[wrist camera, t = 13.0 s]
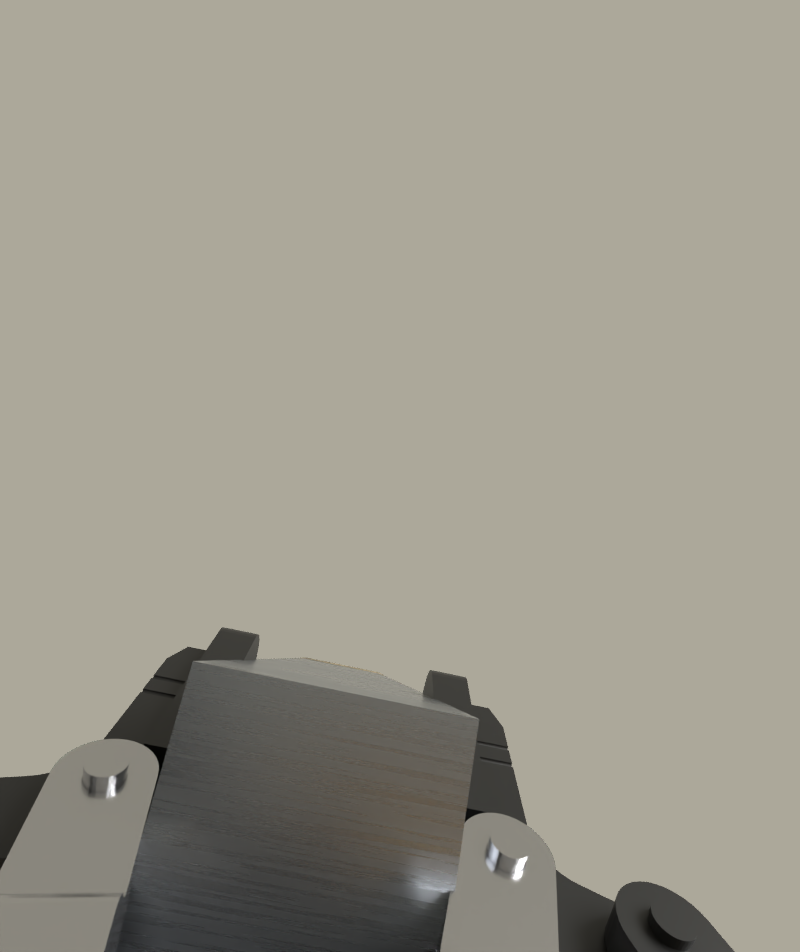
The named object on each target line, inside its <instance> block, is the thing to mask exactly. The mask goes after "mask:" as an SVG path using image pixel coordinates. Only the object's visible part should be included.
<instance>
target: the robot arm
mask: <svg viewBox="0 0 800 952" xmlns="http://www.w3.org/2000/svg"><path fill="white" fill-rule="evenodd" d="M258 646H259V635H257V634H253V633H248V632H243V631H238V630H234V629H228V628H221V629H220V631H219V632H218V634H217V635H216V637H215V638H214V640H213V641H212V643H211V644H210V646H209V647H208V649H207V650H201V649H196V648H191V647H187V648H185V649H183V650H182V651H180V652H178V653H176V654H174V655H172V656H171V657H169V658H167V659H166V660H165V662H164V663H163V664H162V665H161V667H160V668H159V669H158V670H157V672H156V673H155V674H154V677H153V678H151V679H150V681H149V682H148V683H147V685H146V686H145V687H144V689H143V692H140V694H139V695H138V696H137V697H136V699H135V700H134V701H133V702H132V704H131V705H130V706H129V708H128V709H127V710H126V711H125V713H124V714H123V715H122V717H121V718H120V719H119V721H118V722H117V723H116V724H115V726H114V727H113V728H112V729H111V731H110V732H109V733H108V735H107V736H106V737H105V738H104V740H99V741H94V742H90V743H87V744H84V745H81V746H79V747H77V748H75V749H73V750H71V751H70V752H68V753H67V754H65V755H64V756H63V757H62V758H60V759H59V761H58V762H57V763H56V764H55V765H54V767H53V768H52V770H51V771H50V773H47V774H41V775H34V776H22V777H3V778H0V952H116V951H117V946H118V942H119V937H120V933H121V929H122V925H123V921H124V917H125V913H126V909H127V905H128V901H129V898H130V894H131V890H132V886H133V881H134V876H135V870H136V865H137V860H138V854H139V849H140V844H141V839H142V835H143V831H144V828H145V824H146V821H147V817H148V814H149V810H150V807H151V804H152V800H153V797H154V793H155V790H156V786H157V783H158V779H159V776H160V773H161V769H162V766H163V762H164V759H165V755H166V752H167V748H168V745H169V742H170V738H171V735H172V731H173V728H174V724H175V721H176V717H177V714H178V711H179V707H180V704H181V700H182V697H183V693H184V690H185V686H186V683H187V680H188V676H189V673H190V669H191V666H192V662H193V661H211V660H243V661H245V660H256V657H257V652H258ZM423 694H424V695H426V696H428V697H430V698H432V699H435V700H439V701H441V702H443V703H445V704H447V705H450V706H452V707H454V708H456V709H458V710H460V711H463V712H465V713H467V714H469V715H471V716H474V717H476V718H478V719H479V724H478V731H477V738H476V745H475V753H474V760H473V767H472V774H471V781H470V788H469V795H468V802H467V809H466V816H465V823H464V831H463V838H462V845H461V852H460V859H459V866H458V873H457V880H456V887H455V891H452V890H450V894H449V898H448V902H447V906H446V910H445V915H444V919H443V923H442V927H441V931H440V935H439V940H438V944H437V949H436V952H734V951H733V950H732V948H731V947H730V946H729V945H728V944H727V943H726V941H725V940H724V939H723V938H722V937H721V935H720V934H719V933H718V932H717V931H716V929H715V928H714V927H713V926H712V925H711V924H710V922H709V921H708V920H707V919H706V918H705V917H704V916H703V915H702V914H701V913H700V912H699V911H698V910H697V909H696V908H695V907H694V906H692V904H690V903H689V902H687V901H686V900H685V899H684V898H682V897H681V896H679V895H677V894H676V893H674V892H672V891H670V890H668V889H666V888H664V887H662V886H659V885H656V884H652V883H649V882H632V883H629V884H626V885H625V886H623V887H622V888H621V889H620V891H619V892H618V894H617V897H616V900H615V902H614V901H612V900H610V899H608V898H605V897H603V896H601V895H599V894H597V893H595V892H593V891H591V890H589V889H587V888H585V887H583V886H581V885H578V884H577V883H575V882H573V881H571V880H569V879H568V878H566V877H565V876H564V875H562V874H561V873H559V872H558V871H557V870H556V867H555V861H554V858H553V855H552V853H551V851H550V849H549V848H548V846H547V845H546V843H545V842H544V841H543V839H542V838H541V837H540V836H539V835H538V834H537V833H536V832H534V830H532V829H531V828H530V827H528V826H527V823H526V819H525V816H524V811H523V807H522V803H521V799H520V795H519V790H518V786H517V782H516V778H515V774H514V770H513V768H512V767H511V764H512V762H511V759H510V754H509V751H508V750H507V748H508V746H507V742H506V738H505V733H504V729H503V727H502V725H501V724H500V723H499V721H498V720H497V719H496V717H495V716H494V715H493V714H492V712H491V711H490V710H489V709H488V708H484V707H480V706H474V705H471V701H470V695H469V689H468V683H467V679H466V678H465V677H461V676H456V675H452V674H447V673H442V672H437V671H432V670H430V671H429V673H428V676H427V679H426V682H425V686H424V690H423Z"/></svg>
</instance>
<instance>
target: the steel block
mask: <svg viewBox="0 0 800 952" xmlns="http://www.w3.org/2000/svg"><path fill="white" fill-rule="evenodd" d="M478 724H479V719H478V718H476V717H474V716H471V715H469V714H467V713H465V712H463V711H460V710H458V709H456V708H454V707H452V706H450V705H447V704H445V703H443V702H441V701H439V700H435V699H432V698H430V697H428V696H426V695H424V694H423V693H421V692H418V691H417V690H414V689H412V688H410V687H408V686H405V685H403V684H401V683H399V682H396V681H395V680H392V679H390V678H388V677H386V676H383V675H382V674H380V673H378V672H374V671H369V670H364V669H359V668H355V667H349V666H345V665H340V664H335V663H330V662H325V661H320V660H315V659H310V658H294V659H293V658H292V659H291V658H290V659H256V660H245V661H243V660H211V661H193V662H192V666H191V669H190V673H189V676H188V680H187V683H186V686H185V690H184V693H183V697H182V700H181V704H180V707H179V711H178V714H177V717H176V721H175V724H174V728H173V731H172V735H171V738H170V742H169V745H168V748H167V752H166V755H165V759H164V762H163V766H162V769H161V773H160V776H159V779H158V783H157V786H156V790H155V793H154V797H153V800H152V804H151V807H150V810H149V814H148V817H147V821H146V824H145V828H144V831H143V835H142V839H141V844H140V849H139V854H138V860H137V865H136V870H135V876H134V881H133V886H132V890H131V894H130V898H129V901H128V905H127V909H126V913H125V917H124V921H123V925H122V929H121V933H120V937H119V942H118V946H117V951H116V952H436V949H437V944H438V940H439V935H440V931H441V927H442V923H443V919H444V915H445V910H446V906H447V902H448V898H449V894H450V890H452V891H455V887H456V880H457V873H458V866H459V859H460V852H461V845H462V838H463V831H464V823H465V816H466V809H467V802H468V795H469V788H470V781H471V774H472V767H473V760H474V753H475V745H476V738H477V731H478Z"/></svg>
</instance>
